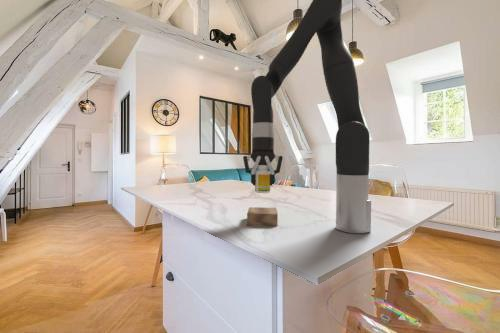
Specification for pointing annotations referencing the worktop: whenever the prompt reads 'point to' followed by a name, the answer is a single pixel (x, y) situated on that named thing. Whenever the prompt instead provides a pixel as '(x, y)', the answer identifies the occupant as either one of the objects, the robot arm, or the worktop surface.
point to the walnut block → (262, 216)
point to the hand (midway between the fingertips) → (262, 185)
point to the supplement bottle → (262, 179)
